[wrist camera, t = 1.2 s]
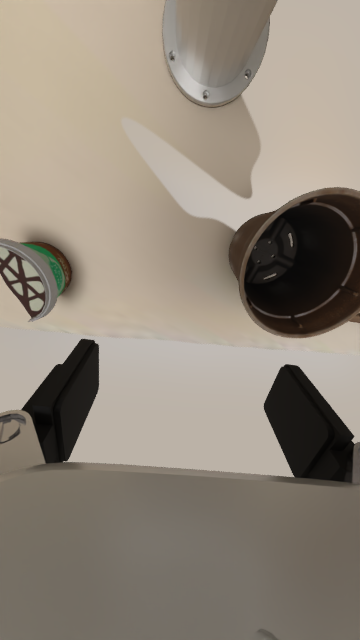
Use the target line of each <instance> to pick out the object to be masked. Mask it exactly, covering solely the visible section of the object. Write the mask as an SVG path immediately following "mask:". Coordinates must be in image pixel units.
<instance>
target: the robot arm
mask: <svg viewBox="0 0 360 640" xmlns="http://www.w3.org/2000/svg"><path fill="white" fill-rule="evenodd" d="M276 2H277V0H166V2H165V7H164V14H163V29H162V36H163V48H164V53H165V59H166V63H167V66H168V69H169V72H170V74H171V76H172V78H173V80H174V82H175V84H176V85H177V87H178V88H179V89H180V91H181V92H182V93H183V94H184V95H185V96H186V97H187V98H188V99H190V100H191V101H193V102H195V103H196V104H199V105H202V106H206V107H217V106H221V105H225V104H227V103H229V102H231V101H233V100H234V99H235V98H237V97H238V96H239V95H241V94H242V92H243V91H244V90H245V89H246V88H247V87H248V86H249V84H250V82H251V81H252V79H253V78H254V76H255V74H256V73H257V71H258V69H259V67H260V64H261V62H262V59H263V57H264V53H265V50H266V46H267V41H268V35H269V25H270V14H271V13H272V11H273V8H274V6H275V4H276ZM171 58H174V61H171ZM245 76H247V77H248V79H246V78H245ZM204 96H207V99H206V100H205V99H204V98H203V97H204ZM98 387H99V345H98V344H96V343H95V341H94V340H88V339H81V340H80V342H79V343H78V344H77V346H76V347H75V348H74V350H73V351H72V352H71V354H70V355H69V356H68V358H67V359H66V360H65V362H64V363H63V364H58V365H56V366H55V367H54V368H53V370H52V371H51V372H50V373H49V375H48V376H47V377H46V379H45V380H44V381H43V382H42V384H41V385H40V386H39V388H38V389H37V390H36V391H35V393H34V394H33V395H32V397H31V398H30V399H29V400H28V402H27V403H26V404H25V406H24V407H23V408H22V410H11V411H6V412H3V413H0V640H360V442H358V443H356V444H354V443H353V442H352V441H351V440H352V439H353V438H354V435H353V434H352V433H351V431H350V430H349V429H348V428H347V426H346V425H345V424H344V423H343V421H342V420H341V419H340V418H339V417H338V415H337V414H336V413H335V411H334V410H333V409H332V408H331V406H330V405H329V404H328V403H327V401H326V400H325V399H324V398H323V396H322V395H321V394H320V393H319V391H318V390H317V389H316V388H315V386H314V385H313V384H312V383H311V381H310V380H309V379H308V378H307V376H306V375H305V374H304V372H303V371H302V370H301V369H300V367H298V366H295V365H288V364H286V365H284V367H281V368H280V370H279V373H278V375H277V377H276V379H275V381H274V383H273V385H272V388H271V390H270V392H269V394H268V396H267V398H266V401H265V403H264V410H265V413H266V415H267V417H268V419H269V422H270V424H271V426H272V428H273V430H274V433H275V435H276V437H277V439H278V442H279V444H280V446H281V449H282V451H283V453H284V455H285V457H286V460H287V462H288V464H289V466H290V468H291V471H292V473H293V475H294V477H283V476H271V475H259V474H245V473H233V472H220V471H207V470H193V469H180V468H166V467H151V466H136V465H123V464H102V463H83V462H82V463H81V462H80V463H79V462H63V461H67V460H68V459H69V457H70V455H71V453H72V450H73V448H74V446H75V443H76V441H77V439H78V436H79V434H80V432H81V429H82V427H83V425H84V422H85V420H86V418H87V416H88V413H89V411H90V409H91V406H92V404H93V401H94V399H95V397H96V394H97V392H98Z"/></svg>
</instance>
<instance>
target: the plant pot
mask: <svg viewBox="0 0 360 640" xmlns="http://www.w3.org/2000/svg"><path fill="white" fill-rule="evenodd" d="M289 233H291V234H292V237H293V243H294V246H293V247H291V245H290V239H289V236H288V234H289ZM270 240H271V241H272V244H269V243H268V242H269V241H270ZM255 246H257V247H258V249H257V250H254V247H255ZM272 255H275V257H274V258H272V257H271V256H272ZM258 260H260V261H261V263H260V264H258V263H257V262H258ZM229 262H230V266H231V269H232V271H233V273H234V274H235V276H236V278H237V280H238V281H239V291H240V296H241V300H242V303H243V305H244V307H245V309H246V311H247V313H248V314H249V316H250V317H251V319H252V320H253V321H254V322H255V323H256V324H257V325H258V326H260V327H261V328H262V329H264V330H266V331H267V332H270V333H272V334H274V335H277V336H281V337H287V338H307V337H313V336H317V335H320V334H323V333H326V332H329V331H331V330H333V329H335V328H337V327H339V326H341V325H343V324H344V323H346V322H348V321H349V320H350V319H352V318H353V317H354V316H356V315H357V314H358V313H359V312H360V191H357V190H353V189H349V188H339V187H334V188H324V189H320V190H316V191H312V192H309V193H306V194H304V195H301V196H299V197H297V198H295V199H293V200H291V201H289V202H288V203H286V204H285V205H283V206H282V207H281V208H279V209H277V210H276V211H273V212H269V213H265V214H261V215H258V216H255V217H253V218H251V219H250V220H248V221H247V222H245V223H244V224H243V225H242V226H241V227H240V228H239V229H238V230H237V232H236V234H235V236H234V238H233V240H232V242H231V244H230V248H229ZM274 273H277V275H276V276H274V277H272V278H269V279H266V280H263V278H265V277H267V276H270V275H272V274H274Z"/></svg>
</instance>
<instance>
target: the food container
mask: <svg viewBox="0 0 360 640" xmlns="http://www.w3.org/2000/svg"><path fill="white" fill-rule="evenodd" d="M0 274H1V276H2V277H3V279H4V281H5V283H6V284H7V286H8V287H9V288H10V290H11V291H12V292H13V293H14V294H15V296H16V297H17V298H18V299H19V300H20V302H21V303H22V304H23V306H24V307H25V309H26V310H27V312H28V313H29V315H30V316H31V319H30V320H29V321H28V322H30V321H35V320H37V319H40V318H42V317H44V316H46V315H47V314H48V313H49V312H50V311H51V310H52V309H53V307H54V306H55V303H56V300H57V297H58V296H59V295H60V294H61V293H62V292H63V291H64V290H65V289H66V288H67V287H68V285H69V283H70V281H71V275H72V271H71V267H70V264H69V262H68V260H67V259H66V257H65V256H64V255H63V254H62V253H61V252H60V251H59V250H58V249H56V248H55V247H53V246H51V245H49V244H46V243H42V242H25V243H18V242H15V241H12V240H8V239H0Z"/></svg>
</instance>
